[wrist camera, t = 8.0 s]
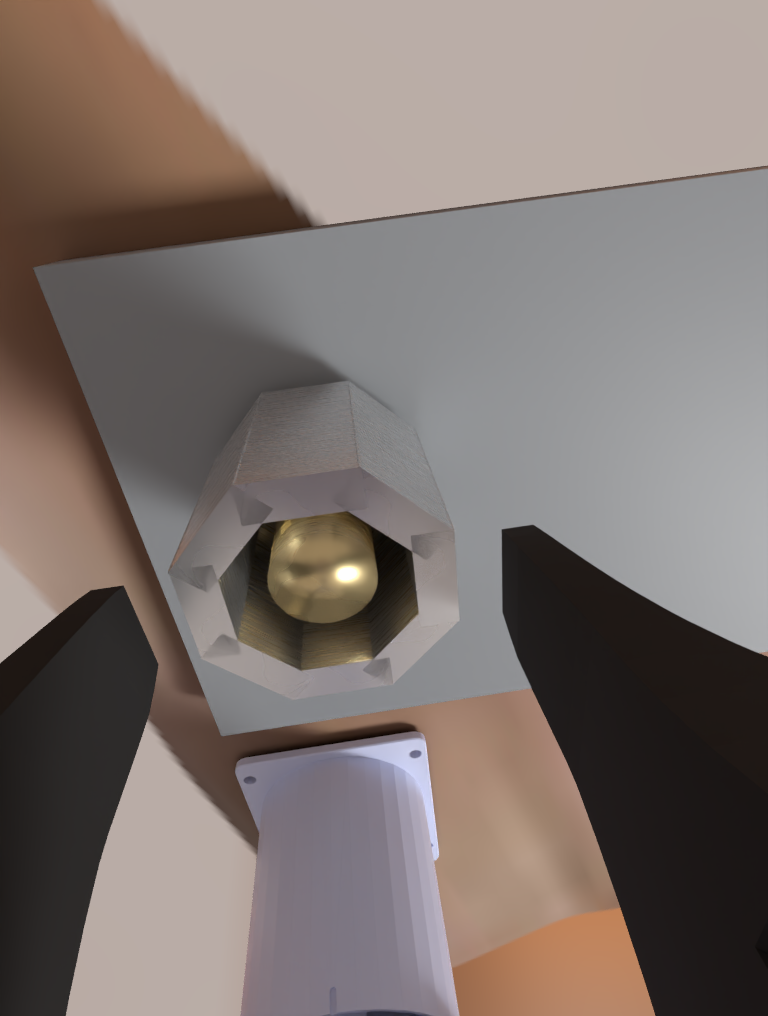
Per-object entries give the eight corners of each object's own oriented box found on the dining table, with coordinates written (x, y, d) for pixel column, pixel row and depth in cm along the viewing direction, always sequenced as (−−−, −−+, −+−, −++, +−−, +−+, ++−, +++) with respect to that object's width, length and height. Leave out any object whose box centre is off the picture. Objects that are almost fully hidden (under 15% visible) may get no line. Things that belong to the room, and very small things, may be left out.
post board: (798, 615, 22) (961, 759, 16) (227, 703, 21) (193, 883, 16) (963, 139, 14) (1389, 101, 8) (60, 260, 14) (-129, 306, 8)
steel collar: (426, 546, 16) (463, 674, 12) (249, 572, 16) (221, 711, 12) (410, 371, 14) (450, 453, 9) (198, 400, 13) (138, 498, 9)
